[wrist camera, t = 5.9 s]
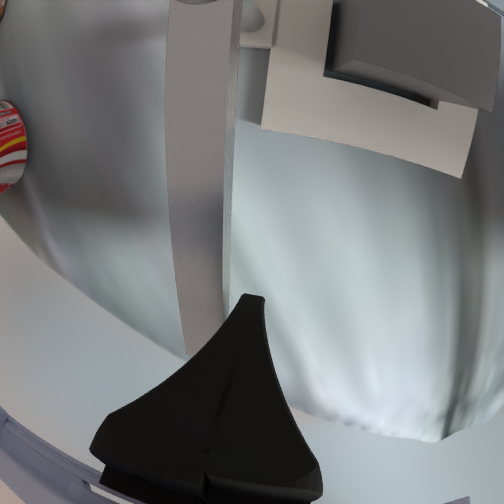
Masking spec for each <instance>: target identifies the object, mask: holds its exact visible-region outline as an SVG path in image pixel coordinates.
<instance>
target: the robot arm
mask: <svg viewBox="0 0 504 504" xmlns="http://www.w3.org/2000/svg"><path fill="white" fill-rule="evenodd" d="M264 303H265V299H264V298H263V297H262V296H257V295H251V294H246V293H245V294H243V295H241V297H240V299H239V301H238V303H237V304H236V306H235V308H234V309H233V311H232V312H231V313H230V315H229V316H228V318H227V319H226V320H225V322H224V323H223V324H222V325H221V327H220V328H219V329H218V330H217V332H216V333H215V334H214V335H213V336H212V337H211V339H210V340H209V341H208V342H207V343H206V344H205V345H204V346H203V347H202V348H201V349H200V350H199V351H198V352H197V353H196V354H195V355H194V356H193V357H192V358H191V359H190V360H189V361H188V362H187V363H186V364H185V365H184V366H182V367H181V368H180V369H179V370H177V371H176V372H175V373H174V374H173V375H171V376H170V377H169V378H168V379H166V380H165V381H164V382H162V383H161V384H159V385H158V386H156V387H155V388H153V389H152V390H150V391H149V392H148V393H146V394H144V395H143V396H141V397H140V398H138V399H136V400H135V401H133V402H131V403H129V404H127V405H126V406H124V407H122V408H120V409H118V410H116V411H114V412H112V413H110V414H109V415H108V416H107V417H106V419H105V420H104V421H103V422H102V424H101V426H100V427H99V429H98V430H97V432H96V434H95V437H94V439H93V441H92V443H91V446H90V448H89V449H90V452H91V453H92V454H93V455H94V456H95V457H96V458H98V459H99V460H100V461H101V462H103V463H104V464H105V465H106V466H105V468H104V471H103V473H102V472H100V471H98V470H95V469H94V468H92V467H90V466H88V465H86V464H84V463H82V462H80V461H78V460H76V459H75V458H73V457H71V456H69V455H68V454H66V453H64V452H62V451H61V450H59V449H57V448H56V447H54V446H52V445H51V444H49V443H48V442H46V441H45V440H43V439H42V438H40V437H39V436H37V435H36V434H34V433H33V432H31V431H30V430H28V429H27V428H26V427H24V426H23V425H21V424H20V423H19V422H17V421H16V420H15V419H14V418H12V417H11V416H10V415H8V413H7V412H6V411H5V410H4V409H3V408H2V407H1V406H0V479H1V480H2V481H3V482H4V483H5V484H6V485H7V486H8V487H9V488H10V489H11V490H12V491H13V492H14V493H15V494H16V495H17V496H18V497H19V498H20V499H21V500H23V501H24V502H25V503H26V504H119V503H117V502H115V501H113V500H110V499H108V498H106V497H104V496H102V495H99V494H97V493H95V492H93V491H92V490H91V488H90V485H89V483H90V484H92V485H94V486H96V487H98V488H100V489H102V490H104V491H106V492H108V493H111V494H112V495H115V496H117V497H120V498H122V499H124V500H127V501H129V502H132V503H134V504H310V502H312V501H315V500H317V499H318V498H320V497H321V496H322V495H323V482H322V476H321V471H320V467H319V463H318V461H317V459H316V458H315V456H314V454H313V453H312V452H311V450H310V448H309V446H308V445H307V443H306V441H305V439H304V437H303V436H302V434H301V432H300V430H299V428H298V426H297V424H296V422H295V420H294V418H293V416H292V413H291V411H290V409H289V407H288V405H287V402H286V400H285V397H284V395H283V392H282V390H281V387H280V384H279V381H278V378H277V375H276V372H275V368H274V365H273V361H272V357H271V353H270V349H269V344H268V339H267V333H266V327H265V317H264ZM87 482H88V483H87ZM444 504H470V497H469V496H467V497H464V498H461V499H458V500H454V501H451V502H448V503H444Z"/></svg>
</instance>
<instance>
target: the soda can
mask: <svg viewBox="0 0 504 504" xmlns="http://www.w3.org/2000/svg"><path fill="white" fill-rule="evenodd" d="M27 148H28V141H27V133H26V129H25V125H24V123H23V120H22V118H21V117H20V115H19V113H18V111H17V110H16V108H15V107H14V106H13V105H12V104H11V103H9V102H7V101H0V194H2V193H3V192H5V191H6V190H7V189H8V188H10V187H11V186H12V185H14V184H15V183H16V182H17V181H18V180H19V179H20V178H21V176H22V174H23V172H24V169H25V165H26V159H27Z"/></svg>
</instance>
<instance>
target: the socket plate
mask: <svg viewBox="0 0 504 504" xmlns="http://www.w3.org/2000/svg"><path fill="white" fill-rule="evenodd" d="M476 1H478V2H479V3H481V4H483V5H484V6H486V7H488V4H487V3H485V2H484V1H482V0H476ZM332 4H333V0H244V1H243V8H242V21H241V34H240V47H249V48H261V49H271V50H270V58H269V66H268V74H267V82H266V90H265V98H264V106H263V114H262V123H261V129H264V130H271V131H278V132H284V133H291V134H296V135H302V136H308V137H313V138H318V139H323V140H328V141H333V142H337V143H342V144H346V145H351V146H355V147H359V148H363V149H367V150H371V151H375V152H379V153H382V154H386V155H390V156H393V157H397V158H400V159H403V160H407V161H410V162H413V163H416V164H420V165H423V166H426V167H429V168H432V169H435V170H438V171H441V172H443V173H446V174H449V175H452V176H454V177H457V178H460V179H461V177H462V173H463V170H464V167H465V163H466V160H467V156H468V153H469V149H470V145H471V141H472V137H473V133H474V128H475V124H476V119H477V114H478V109H474V108H470V107H466V106H462V105H457V104H453V103H448V102H443V101H438V100H433V99H431V100H430V105H429V107H428V106H425V105H422V104H420V103H417V102H414V101H411V100H408V99H406V98H403V97H400V96H396V95H393V94H390V93H387V92H384V91H380V90H377V89H373V88H370V87H366V86H362V85H358V84H354V83H350V82H346V81H342V80H337V79H333V78H328V77H323V73H324V66H325V59H326V52H327V45H328V37H329V29H330V21H331V12H332Z"/></svg>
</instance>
